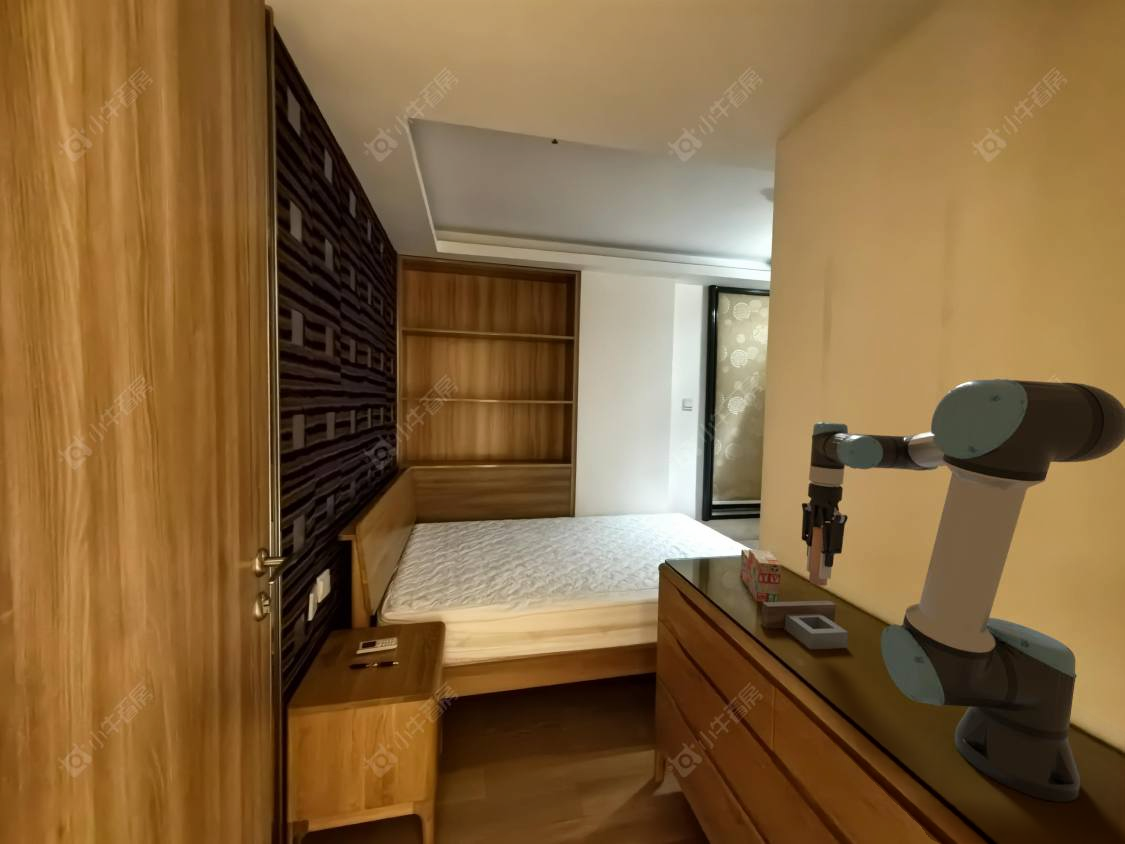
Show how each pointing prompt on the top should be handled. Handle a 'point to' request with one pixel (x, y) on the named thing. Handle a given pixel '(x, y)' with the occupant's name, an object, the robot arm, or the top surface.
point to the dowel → (816, 557)
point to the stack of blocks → (761, 574)
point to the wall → (794, 611)
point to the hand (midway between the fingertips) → (818, 574)
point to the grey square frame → (816, 631)
